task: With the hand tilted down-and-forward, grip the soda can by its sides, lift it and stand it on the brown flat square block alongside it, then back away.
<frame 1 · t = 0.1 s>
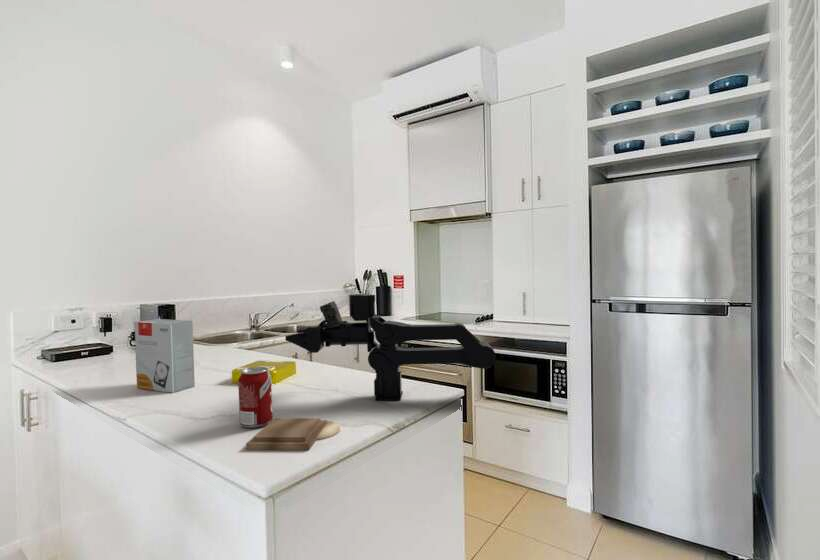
hand: (292, 335, 109), 17 cm above the counter, tool horizontal, fingers open, 9 cm apart
coaster: (318, 431, 86), on the counter
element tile: (265, 380, 131), on the counter
brown flat square block: (289, 437, 83), on the counter
hard drive box: (166, 388, 123), on the counter
soda can: (256, 425, 91), on the counter
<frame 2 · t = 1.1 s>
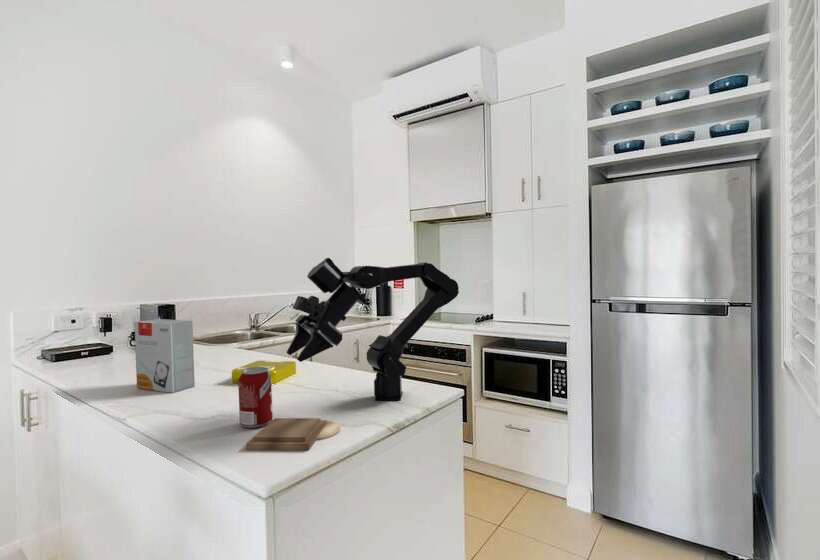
hand: (293, 357, 95), 14 cm above the counter, tool tilted 45°, fingers open, 9 cm apart
nothing on the counter moved.
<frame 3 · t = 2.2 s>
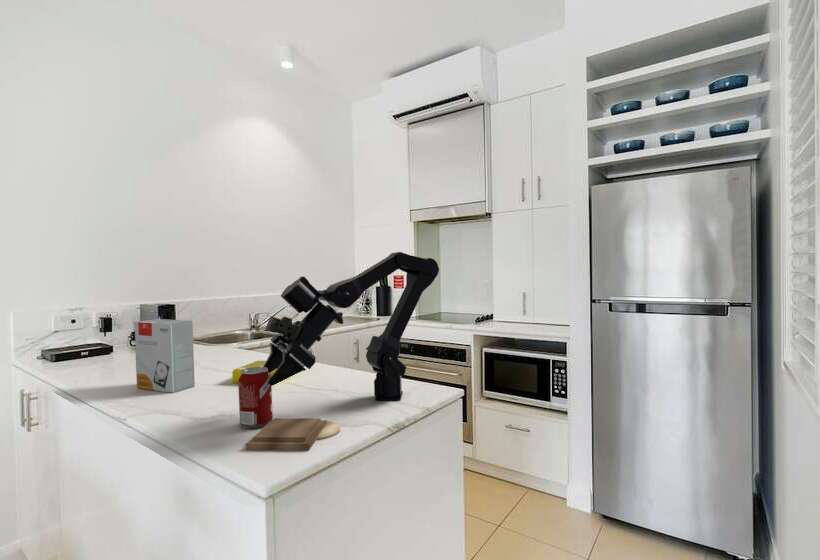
hand: (265, 379, 92), 9 cm above the counter, tool tilted 45°, fingers open, 9 cm apart
nothing on the counter moved.
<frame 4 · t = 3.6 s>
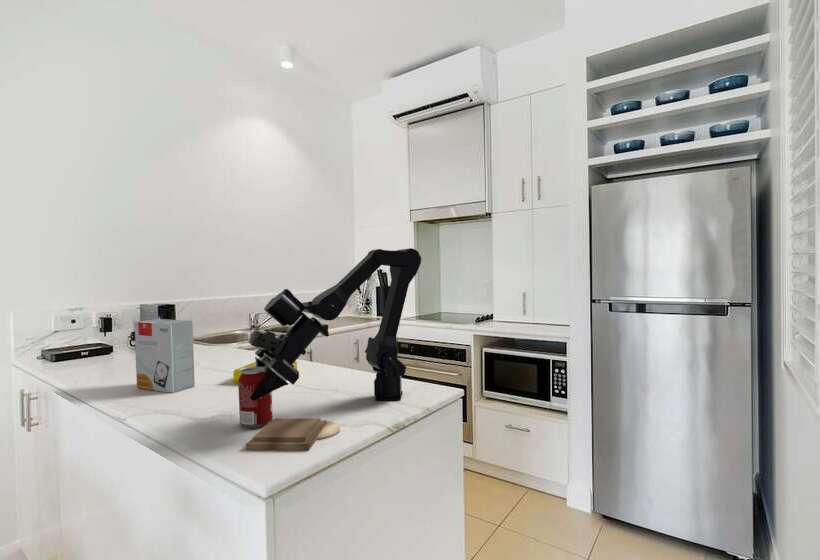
hand: (248, 395, 90), 7 cm above the counter, tool tilted 45°, fingers closed on soda can, 7 cm apart
soda can: (256, 424, 91), on the counter, touching gripper
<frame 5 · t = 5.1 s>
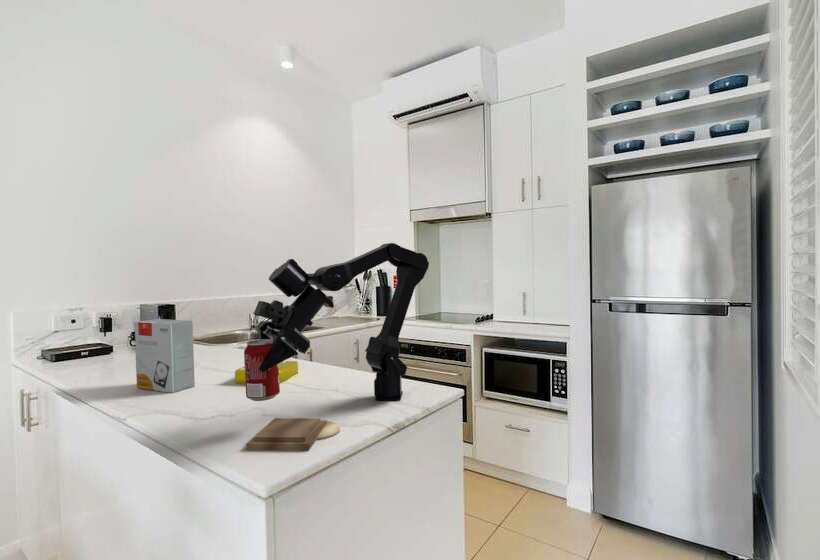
hand: (255, 367, 87), 13 cm above the counter, tool tilted 45°, fingers closed on soda can, 7 cm apart
soda can: (263, 398, 88), point 6 cm above the counter, touching gripper
when the fingers open (10 cm above the counter, at t = 7.0 s): soda can drops 1 cm, resting on brown flat square block.
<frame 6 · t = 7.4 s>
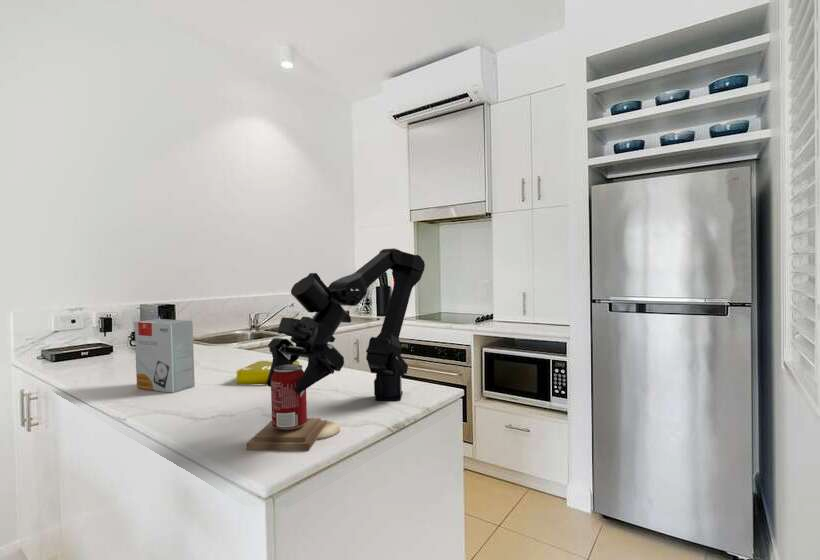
hand: (281, 388, 82), 10 cm above the counter, tool tilted 45°, fingers open, 9 cm apart
soda can: (289, 427, 83), point 2 cm above the counter, touching brown flat square block
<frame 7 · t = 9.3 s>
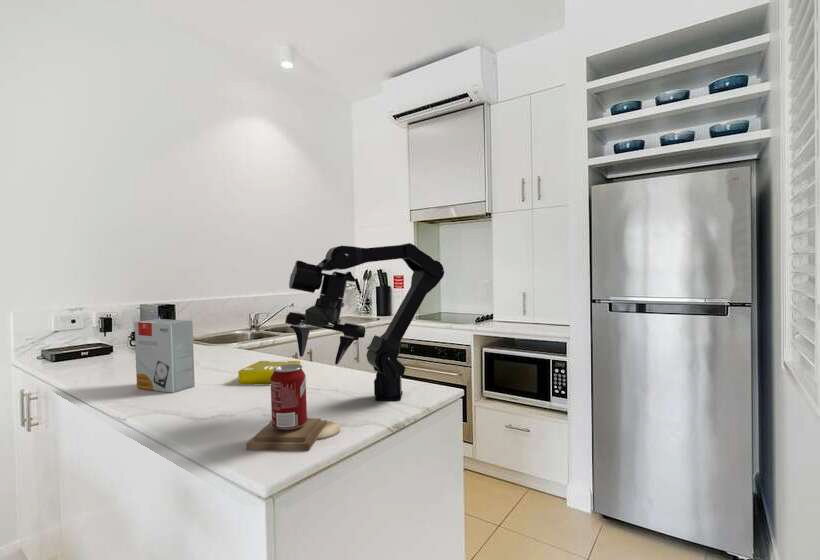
hand: (318, 360, 100), 12 cm above the counter, tool pointing down, fingers open, 9 cm apart
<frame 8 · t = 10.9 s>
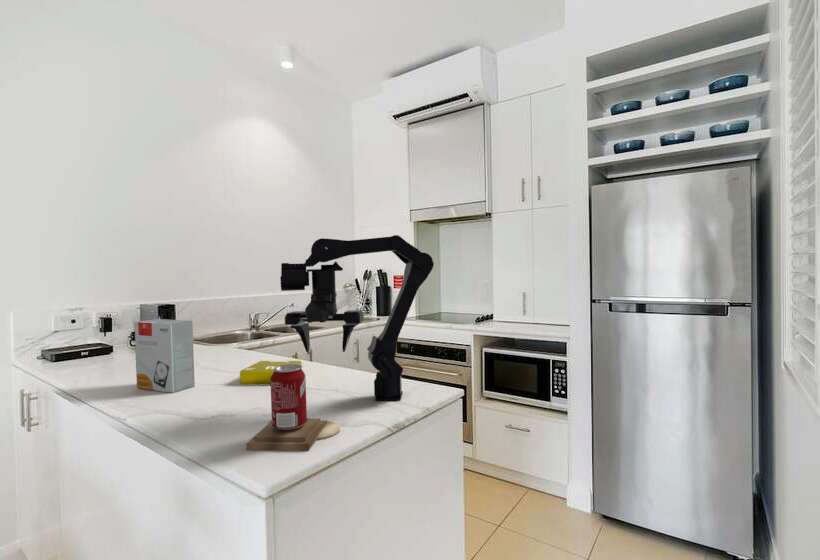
hand: (325, 351, 104), 13 cm above the counter, tool pointing down, fingers open, 9 cm apart
at the end: soda can inside the target area on the brown flat square block (0.2 cm from its centre), point 1.8 cm above the brown flat square block's base; soda can tilted 0°; the gripper is holding nothing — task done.
